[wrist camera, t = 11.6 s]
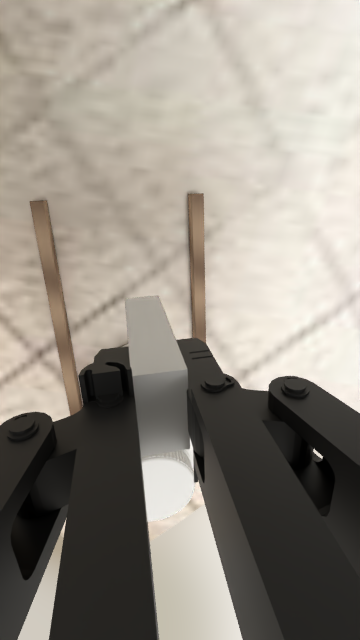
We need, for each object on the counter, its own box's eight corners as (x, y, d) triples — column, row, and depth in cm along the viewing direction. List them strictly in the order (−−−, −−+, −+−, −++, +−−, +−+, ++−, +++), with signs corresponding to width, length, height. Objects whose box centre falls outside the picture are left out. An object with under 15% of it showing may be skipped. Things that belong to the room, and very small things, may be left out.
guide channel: (33, 201, 27) (17, 202, 23) (199, 193, 30) (215, 193, 25) (77, 437, 36) (72, 472, 31) (203, 417, 38) (216, 447, 33)
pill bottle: (83, 373, 33) (62, 497, 20) (145, 324, 33) (168, 416, 19) (134, 419, 36) (147, 555, 23) (191, 375, 36) (241, 487, 22)
